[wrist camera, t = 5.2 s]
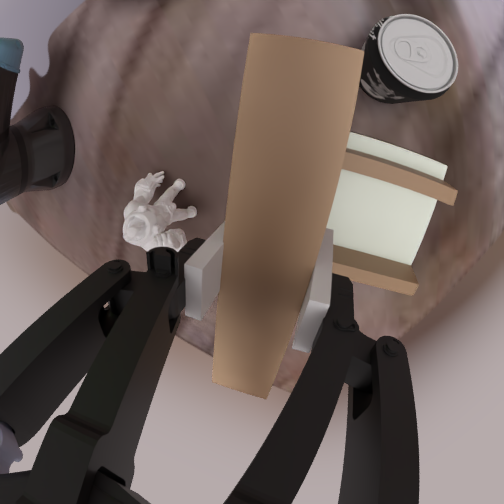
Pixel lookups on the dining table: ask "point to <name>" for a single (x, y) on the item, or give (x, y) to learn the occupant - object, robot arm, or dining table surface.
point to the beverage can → (407, 60)
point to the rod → (279, 197)
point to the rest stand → (383, 212)
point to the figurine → (155, 215)
